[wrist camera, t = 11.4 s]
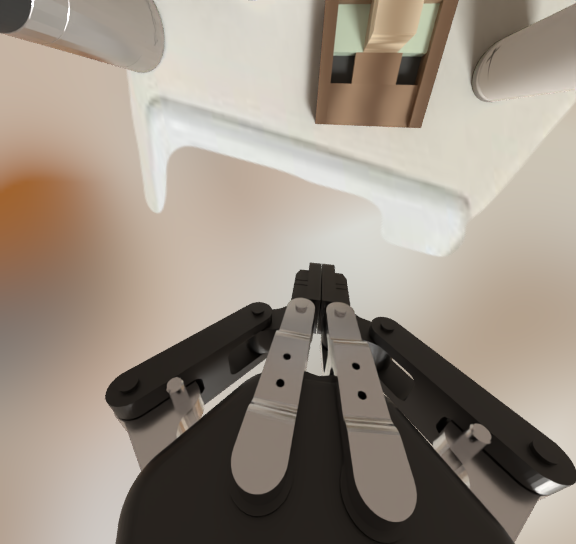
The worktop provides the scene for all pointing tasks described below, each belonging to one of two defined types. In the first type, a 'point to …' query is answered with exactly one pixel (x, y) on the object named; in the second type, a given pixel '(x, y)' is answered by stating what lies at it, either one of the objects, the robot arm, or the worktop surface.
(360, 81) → the box
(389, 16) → the birch block
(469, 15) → the worktop surface
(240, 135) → the worktop surface
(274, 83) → the worktop surface
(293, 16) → the worktop surface
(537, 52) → the travel mug
